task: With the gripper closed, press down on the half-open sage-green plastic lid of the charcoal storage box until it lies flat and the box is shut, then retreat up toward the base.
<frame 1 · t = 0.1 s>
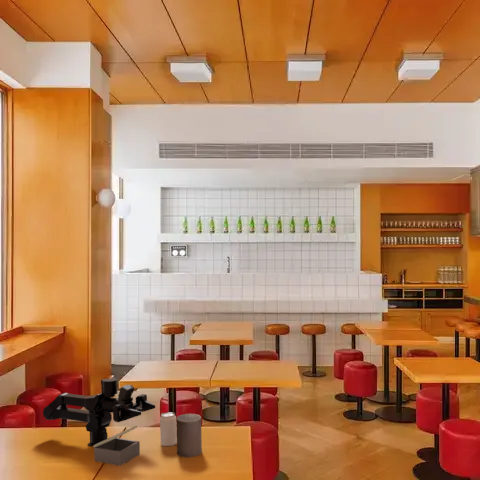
hand: (148, 410, 223), 17 cm above the table, tool horizontal, fingers open, 9 cm apart
storage box: (117, 457, 219), on the table
can: (168, 444, 232), on the table
lid: (115, 436, 219), point 8 cm above the table, hinge at 25.0°
pillar candle: (189, 453, 222), on the table
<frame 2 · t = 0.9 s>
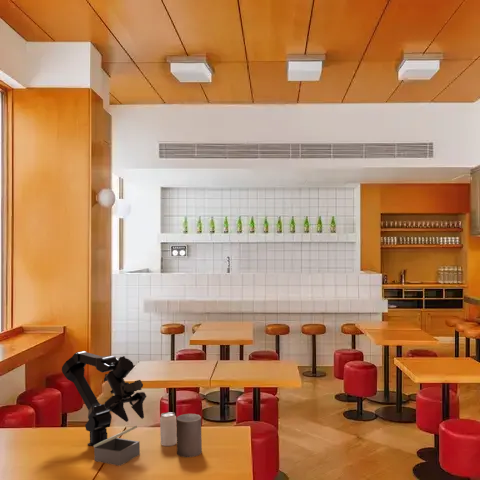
hand: (135, 419, 219), 14 cm above the table, tool tilted 40°, fingers open, 9 cm apart
nothing on the table moved.
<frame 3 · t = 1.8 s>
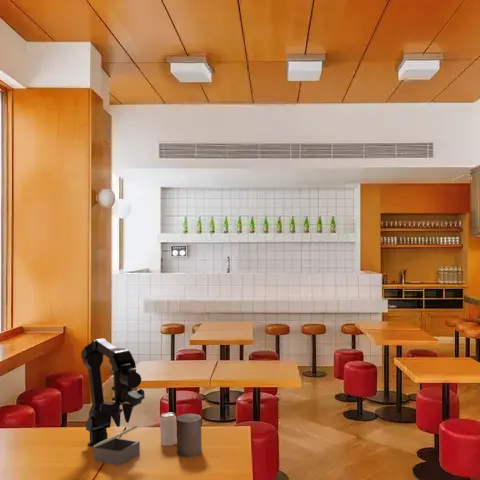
hand: (122, 424, 218), 13 cm above the table, tool pointing down, fingers open, 5 cm apart
nothing on the table moved.
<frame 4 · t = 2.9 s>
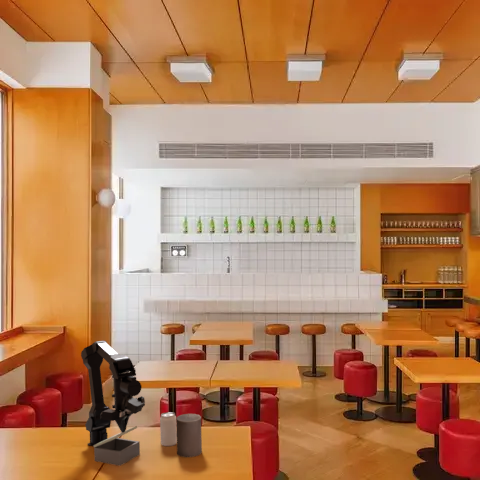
hand: (123, 432, 218), 10 cm above the table, tool pointing down, fingers closed, pressing on lid
lid: (115, 436, 219), point 8 cm above the table, hinge at 24.4°, touching gripper
everything else where it was.
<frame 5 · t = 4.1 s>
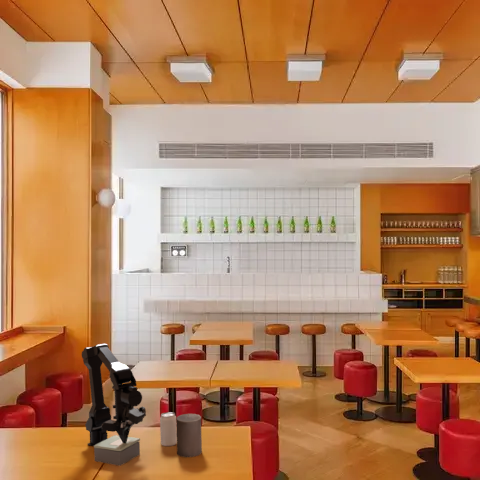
hand: (124, 443, 217), 6 cm above the table, tool pointing down, fingers closed, pressing on lid
lid: (117, 442, 219), point 6 cm above the table, hinge at 1.4°, touching gripper
everything else where it was.
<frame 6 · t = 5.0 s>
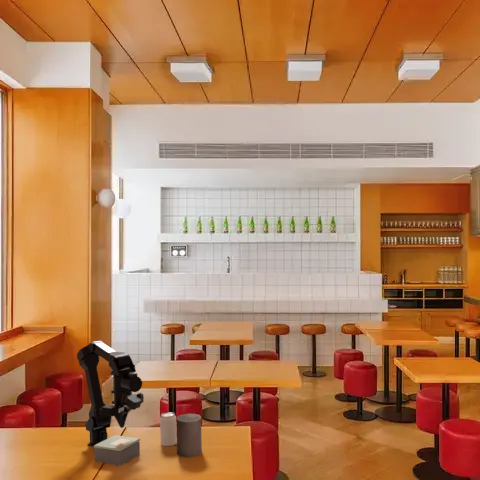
hand: (122, 427, 221), 11 cm above the table, tool pointing down, fingers closed
lid: (117, 442, 219), point 6 cm above the table, hinge at 1.3°
everything else where it was.
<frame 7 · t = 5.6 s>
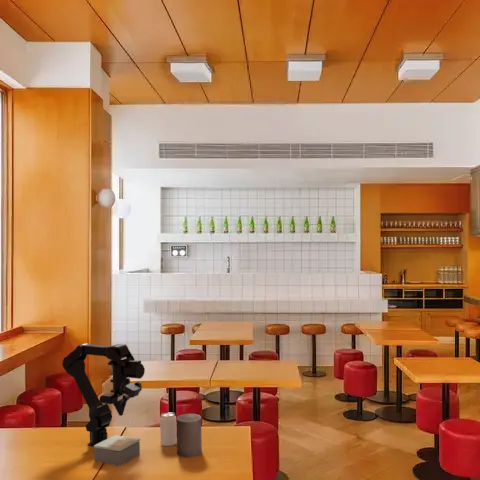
hand: (121, 415, 229), 13 cm above the table, tool pointing down, fingers closed
nothing on the table moved.
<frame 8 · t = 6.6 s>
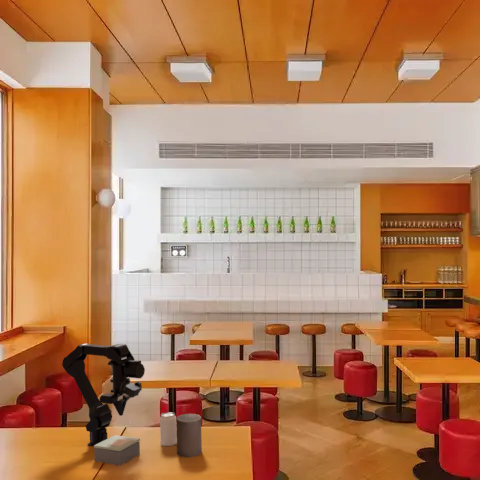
hand: (121, 415, 229), 13 cm above the table, tool pointing down, fingers closed
nothing on the table moved.
at the end: lid at +1° (first picture: +25°); can moved 0.2 cm from its start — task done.
